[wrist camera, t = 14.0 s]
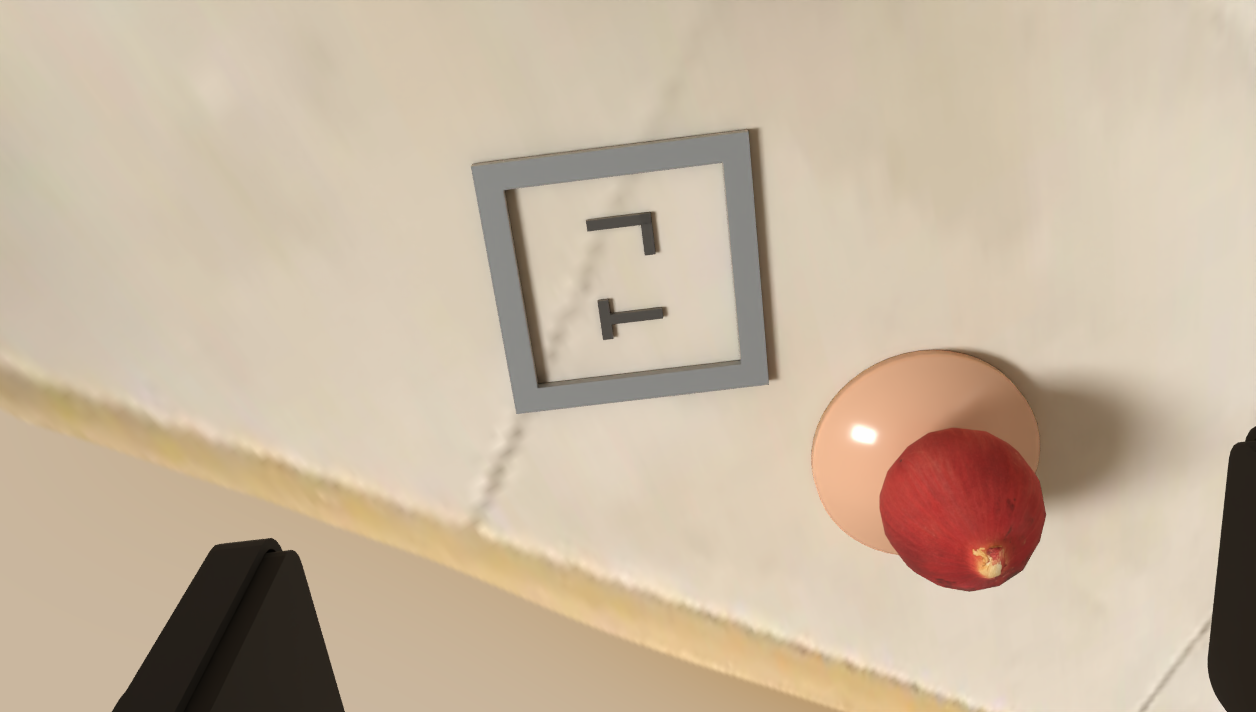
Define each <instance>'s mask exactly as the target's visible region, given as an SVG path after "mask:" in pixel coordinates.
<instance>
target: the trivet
mask: <svg viewBox="0 0 1256 712" xmlns="http://www.w3.org/2000/svg"><path fill="white" fill-rule="evenodd" d="M952 427H953V428H962V429H971V430H980V431H987V432H988V433H990V434H992V435H994V436H996V437H998V438H1000V439H1002V440H1004V441H1005V442H1007V443H1009V444H1010V445H1011V446H1012V447H1014V448H1015V449H1016V450H1017V451H1018V452H1019V453H1020V454H1021V456H1022V457H1023V458H1024V459H1025V461H1026V462H1027V463H1028V465H1029V466H1030V467H1031V469H1032V470H1033V471H1034V473H1035V474H1036V470H1037V466H1038V462H1039V453H1040V438H1039V431H1038V426H1037V422H1036V419H1035V417H1034V414H1033V411H1032V409H1031V408H1030V406H1029V404H1028V402H1027V401H1026V399H1025V398H1024V397H1023V395H1022V394H1021V393H1020V391H1019V390H1018V389H1017V388H1016V386H1015V385H1014V384H1013V383H1012V381H1011V380H1010V379H1009V378H1007V377H1006V376H1005V375H1004V374H1003V373H1002V372H1001V371H999V370H998V369H996V368H995V367H993V366H992V365H990V364H989V363H987V362H984V361H982V360H980V359H978V358H976V357H973V356H970V355H967V354H963V353H958V352H953V351H943V350H926V351H916V352H910V353H905V354H901V355H898V356H895V357H891V358H889V359H886V360H884V361H882V362H879V363H877V364H875V365H873V366H871V367H870V368H868V369H866V370H864V371H863V372H861V373H860V374H859V375H857V376H856V377H855V378H853V379H852V380H851V381H850V382H848V383H847V384H846V385H845V386H844V387H843V388H842V389H841V390H840V391H839V392H838V393H837V395H836V396H835V397H834V398H833V399H832V401H831V402H830V404H829V405H828V407H827V408H826V410H825V411H824V413H823V415H822V417H821V419H820V421H819V424H818V426H817V429H816V432H815V435H814V439H813V445H812V451H811V465H812V472H813V478H814V481H815V484H816V488H817V491H818V494H819V497H820V499H821V501H822V503H823V506H824V508H825V510H826V511H827V513H828V514H829V515H830V517H831V518H832V520H833V521H834V522H835V523H836V524H837V525H838V526H839V527H840V528H841V529H842V530H843V531H844V532H845V533H847V534H848V535H849V536H850V537H852V538H853V539H855V540H857V541H858V542H860V543H862V544H864V545H866V546H868V547H871V548H873V549H876V550H879V551H882V552H886V553H891V554H896V555H899V554H898V553H897V552H896V550H895V549H894V548H893V547H892V545H891V544H890V542H889V540H888V539H887V537H886V535H885V532H884V527H883V523H882V518H881V513H880V509H879V495H880V492H881V489H882V486H883V483H884V480H885V477H886V474H887V471H888V470H889V469H890V467H891V466H892V465H893V464H894V462H895V461H896V460H897V459H898V458H899V456H900V455H901V454H902V453H903V451H904V450H905V449H906V448H907V447H908V446H909V445H911V444H912V443H914V442H915V441H917V440H918V439H920V438H921V437H923V436H924V435H926V434H927V433H930V432H934V431H939V430H943V429H948V428H952Z"/></svg>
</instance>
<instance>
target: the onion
mask: <svg viewBox="0 0 1256 712" xmlns="http://www.w3.org/2000/svg"><path fill="white" fill-rule="evenodd" d="M879 509H880V513H881V518H882V523H883V527H884V532H885V535H886V537H887V539H888V540H889V542H890V544H891V545H892V547H893V548H894V549H895V550H896V552H897V553H898V554H899V556H900V557H901V558H902V559H903V561H904V562H905V563H906V565H907V566H908V567H909V568H911V569H912V570H913V571H914V572H916V573H917V574H919V575H921V576H922V577H924V578H926V579H928V580H929V581H931V582H933V583H935V584H937V585H939V586H942V587H946V588H951V589H957V590H963V591H969V592H970V591H976V590H981V589H986V588H991V587H996V586H1000V585H1001V584H1003V583H1004V582H1006V581H1007V580H1009V579H1010V578H1012V577H1013V576H1015V575H1016V574H1018V573H1019V572H1021V571H1023V569H1024V568H1025V566H1026V564H1027V562H1028V560H1029V559H1030V557H1031V555H1032V553H1033V552H1034V550H1035V548H1036V546H1037V545H1038V543H1039V542H1040V538H1041V534H1042V530H1043V526H1044V522H1045V518H1046V512H1045V506H1044V501H1043V496H1042V491H1041V486H1040V481H1039V480H1038V478H1037V476H1036V475H1035V473H1034V471H1033V470H1032V469H1031V467H1030V466H1029V465H1028V463H1027V462H1026V461H1025V459H1024V458H1023V457H1022V456H1021V454H1020V453H1019V452H1018V451H1017V450H1016V449H1015V448H1014V447H1012V446H1011V445H1010V444H1009V443H1007V442H1005V441H1004V440H1002V439H1000V438H998V437H996V436H994V435H992V434H990V433H988V432H987V431H980V430H971V429H962V428H953V427H952V428H948V429H943V430H939V431H934V432H930V433H927V434H926V435H924V436H923V437H921V438H920V439H918V440H917V441H915V442H914V443H912V444H911V445H909V446H908V447H907V448H906V449H905V450H904V451H903V453H902V454H901V455H900V456H899V458H898V459H897V460H896V461H895V462H894V464H893V465H892V466H891V467H890V469H889V470H888V471H887V474H886V477H885V480H884V483H883V486H882V489H881V492H880V495H879Z"/></svg>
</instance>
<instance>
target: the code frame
mask: <svg viewBox="0 0 1256 712" xmlns="http://www.w3.org/2000/svg"><path fill="white" fill-rule="evenodd" d="M717 163H722V166H723V176H724V187H725V198H726V209H727V220H728V231H729V242H730V253H731V264H732V275H733V286H734V297H735V308H736V319H737V330H738V341H739V352H740V360H738V361H729V362H721V363H712V364H704V365H695V366H687V367H678V368H670V369H661V370H653V371H644V372H636V373H627V374H619V375H610V376H602V377H593V378H585V379H576V380H568V381H559V382H551V383H542V384H538V379H537V374H536V368H535V362H534V356H533V351H532V345H531V339H530V333H529V327H528V322H527V316H526V310H525V304H524V299H523V293H522V287H521V281H520V276H519V270H518V264H517V258H516V252H515V247H514V241H513V235H512V229H511V224H510V218H509V212H508V206H507V200H506V195H505V190H508V189H516V188H524V187H532V186H540V185H548V184H556V183H564V182H572V181H580V180H588V179H596V178H604V177H612V176H620V175H628V174H636V173H645V172H653V171H661V170H669V169H677V168H685V167H693V166H701V165H709V164H717ZM471 169H472V175H473V180H474V186H475V191H476V196H477V202H478V207H479V213H480V218H481V224H482V229H483V234H484V240H485V245H486V251H487V256H488V262H489V267H490V272H491V278H492V283H493V289H494V294H495V300H496V305H497V310H498V316H499V321H500V327H501V332H502V338H503V343H504V349H505V354H506V359H507V365H508V370H509V376H510V381H511V387H512V392H513V397H514V403H515V408H516V414H520V413H529V412H538V411H546V410H555V409H563V408H572V407H580V406H589V405H598V404H606V403H615V402H623V401H632V400H640V399H649V398H658V397H666V396H675V395H683V394H692V393H700V392H709V391H718V390H726V389H735V388H743V387H752V386H761V385H769V379H768V367H767V355H766V342H765V330H764V318H763V305H762V293H761V280H760V268H759V256H758V243H757V231H756V219H755V206H754V194H753V181H752V169H751V157H750V144H749V132H748V130H747V129H746V130H738V131H730V132H722V133H714V134H706V135H698V136H690V137H682V138H674V139H666V140H658V141H650V142H642V143H635V144H627V145H619V146H611V147H603V148H595V149H587V150H579V151H571V152H563V153H555V154H547V155H539V156H531V157H523V158H515V159H507V160H500V161H492V162H484V163H476V164H472V166H471ZM586 224H587V231H594V230H603V229H611V228H619V227H627V226H635V225H641V228H642V236H643V244H644V252H645V255H653V254H655V246H654V237H653V229H652V221H651V212H646V213H638V214H629V215H621V216H613V217H605V218H597V219H589V220H586ZM598 307H599V314H600V321H601V328H602V335H603V340H607V339H613V330H612V324H619V323H628V322H636V321H645V320H653V319H661V318H663V312H662V307H659V308H651V309H643V310H634V311H626V312H618V313H610V309H609V302H608V299H603V300H598Z"/></svg>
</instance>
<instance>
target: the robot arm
mask: <svg viewBox="0 0 1256 712" xmlns="http://www.w3.org/2000/svg"><path fill="white" fill-rule="evenodd" d="M1208 673H1209V678H1210V682H1211V685H1212V688H1213V690H1214V692H1215V695H1216V696H1217V698H1218V700H1219V701H1220V703H1221V704H1222V706H1223V707H1224V708H1225V710H1226V711H1227V712H1256V426H1255V427H1254V428H1252V429H1251V430H1250V432H1249V433H1248V435H1247V437H1246V440H1245V442H1239V443H1237V444H1235V445H1234V446H1233V448H1232V450H1231V452H1230V456H1229V463H1228V472H1227V482H1226V491H1225V501H1224V510H1223V520H1222V529H1221V538H1220V548H1219V557H1218V567H1217V576H1216V586H1215V595H1214V604H1213V614H1212V623H1211V633H1210V642H1209V652H1208ZM112 712H345V711H344V708H343V704H342V701H341V697H340V694H339V690H338V687H337V683H336V680H335V676H334V673H333V670H332V666H331V663H330V660H329V656H328V652H327V649H326V645H325V642H324V638H323V635H322V632H321V628H320V625H319V622H318V618H317V614H316V611H315V607H314V604H313V600H312V597H311V594H310V590H309V587H308V583H307V580H306V576H305V573H304V570H303V566H302V563H301V560H300V558H299V556H298V554H297V553H296V552H295V551H293V550H288V551H282V549H281V547H280V545H279V544H278V542H277V541H276V540H274V539H272V538H268V539H259V540H251V541H243V542H233V543H224V544H219V545H215V546H214V547H213V548H212V549H211V551H210V552H209V554H208V555H207V557H206V559H205V561H204V562H203V564H202V565H201V567H200V569H199V570H198V572H197V574H196V575H195V577H194V579H193V580H192V582H191V584H190V585H189V587H188V589H187V590H186V592H185V594H184V595H183V597H182V599H181V600H180V602H179V604H178V605H177V607H176V609H175V610H174V612H173V614H172V615H171V617H170V619H169V620H168V622H167V624H166V626H165V627H164V629H163V631H162V632H161V634H160V635H159V637H158V639H157V640H156V642H155V644H154V645H153V647H152V649H151V650H150V652H149V654H148V655H147V657H146V659H145V660H144V662H143V664H142V666H141V667H140V669H139V670H138V672H137V674H136V675H135V677H134V679H133V681H132V682H131V684H130V685H129V687H128V689H127V690H126V692H125V693H124V694H123V696H122V697H121V698H120V699H119V701H118V703H117V704H116V706H115V707H114V709H113V711H112Z"/></svg>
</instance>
